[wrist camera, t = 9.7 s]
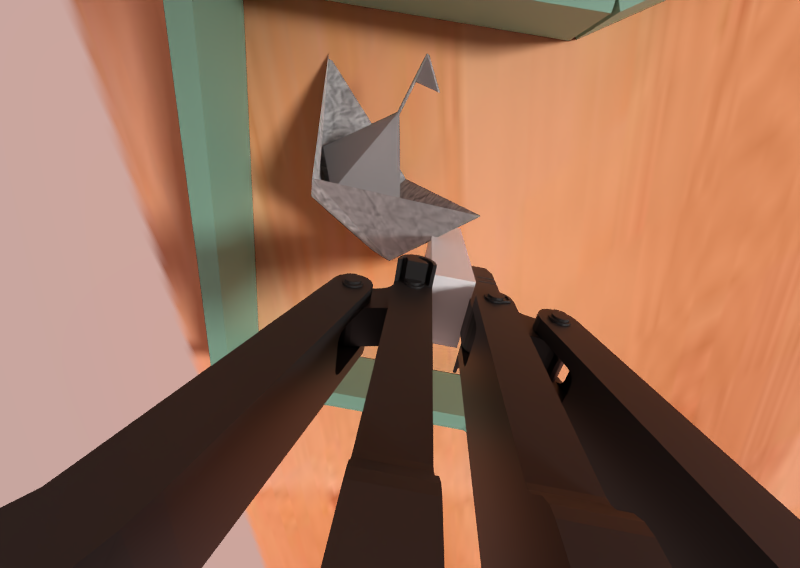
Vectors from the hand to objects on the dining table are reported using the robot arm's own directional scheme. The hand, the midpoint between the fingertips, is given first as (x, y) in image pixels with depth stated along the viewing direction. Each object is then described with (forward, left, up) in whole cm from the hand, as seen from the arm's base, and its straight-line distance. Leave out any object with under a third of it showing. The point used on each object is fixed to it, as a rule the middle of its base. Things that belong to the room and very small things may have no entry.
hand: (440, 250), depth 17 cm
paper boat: (+4, -4, -4) cm, 6 cm away
